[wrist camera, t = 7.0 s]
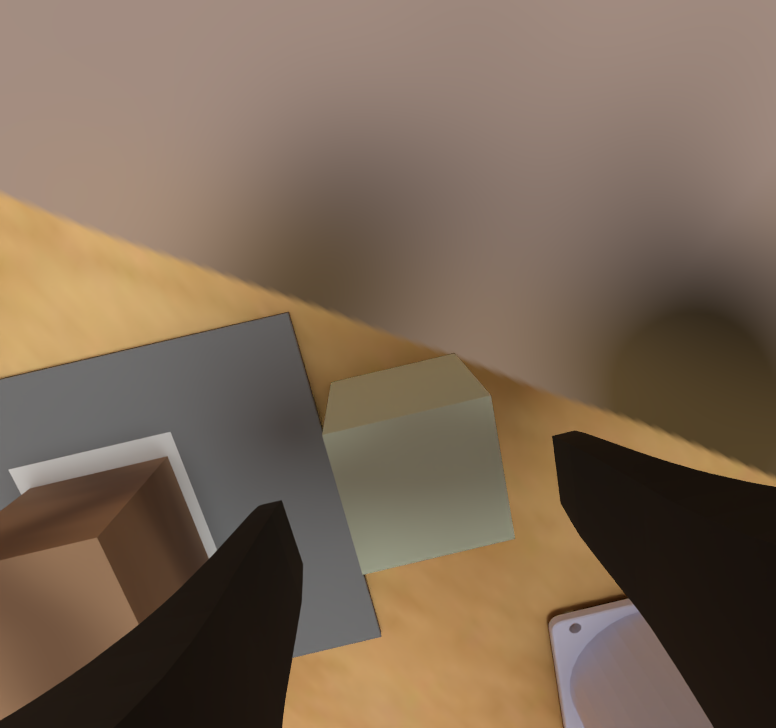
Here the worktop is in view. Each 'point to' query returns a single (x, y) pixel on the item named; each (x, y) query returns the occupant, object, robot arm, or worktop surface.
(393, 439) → the sage cube
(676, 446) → the worktop surface
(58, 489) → the walnut base block
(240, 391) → the gray mat
